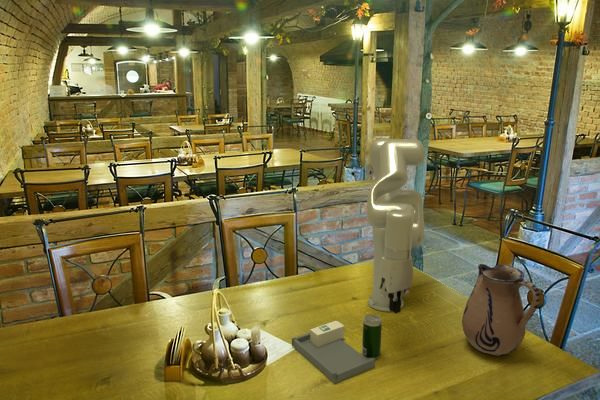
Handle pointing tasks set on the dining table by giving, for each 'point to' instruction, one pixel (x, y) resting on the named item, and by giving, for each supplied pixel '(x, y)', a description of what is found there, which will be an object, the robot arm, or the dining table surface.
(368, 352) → the beer can
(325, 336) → the block
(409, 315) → the dining table surface
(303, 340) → the slate tray
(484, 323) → the ceramic pitcher
